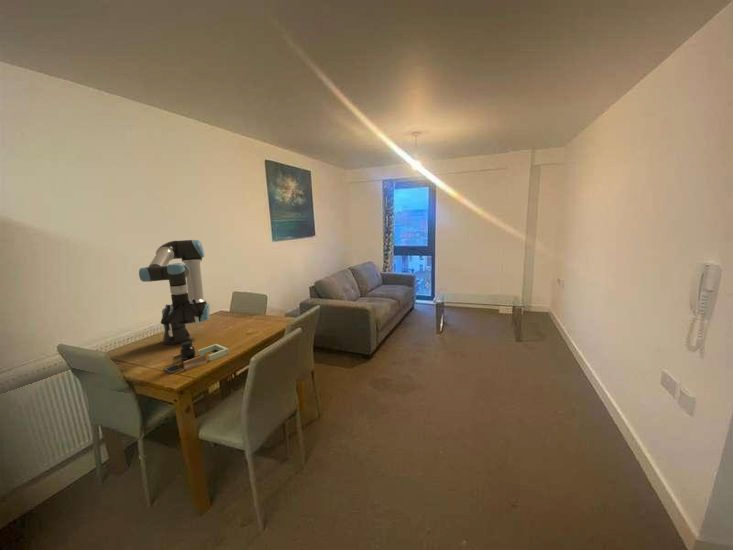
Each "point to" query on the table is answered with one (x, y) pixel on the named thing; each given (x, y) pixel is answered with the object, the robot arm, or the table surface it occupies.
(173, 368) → the mat
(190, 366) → the channel
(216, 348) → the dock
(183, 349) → the supplement bottle
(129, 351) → the table surface
